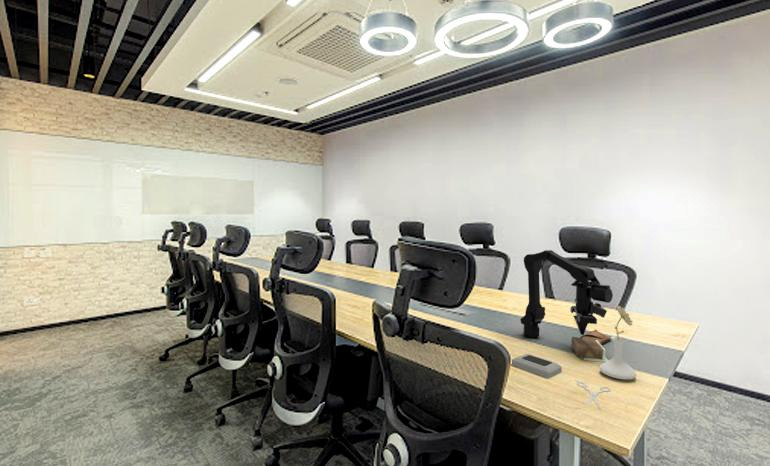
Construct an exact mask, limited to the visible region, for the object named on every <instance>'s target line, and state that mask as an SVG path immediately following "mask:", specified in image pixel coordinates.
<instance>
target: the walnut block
mask: <svg viewBox="0 0 770 466" xmlns="http://www.w3.org/2000/svg"><path fill="white" fill-rule="evenodd" d="M570 342H571V344H570V346H571V348H572V349H573V351H574V352H575V355H577V356H579V357H580V356H584V357H591V358H597V359H603V360H605V357H606V351H607V350H606V349H605V348H604V347H603V344H602V345H601V344H600V343H599V342H598V341H597V340H591V339H584V338H580V337H577V336H571V340H570Z"/></svg>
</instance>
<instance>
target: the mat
mask: <svg viewBox="0 0 770 466" xmlns="http://www.w3.org/2000/svg"><path fill="white" fill-rule="evenodd" d="M579 358H580V359H581V360H582V361H589V362H600V363H604V362H606V361H608V360H609V359H608V357H606V356H605V360H603V359H597V358H591V357H584V356H579Z"/></svg>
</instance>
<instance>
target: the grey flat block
mask: <svg viewBox="0 0 770 466" xmlns="http://www.w3.org/2000/svg"><path fill="white" fill-rule="evenodd" d="M511 360H512V364H511V363H510V366H512V367H515V368H518V369H520V370H523V371H526V372H528V373H531V374H534V375H537V376H538V377H539V376H540V377H542V378H546V379H547V378H548V379H547V380H549V379H551V378H553V377H555V376H557V375H559V374H561V373H562V369H563V367H562V366H561V365H560V364H559V363H557V362H554V361H552V360H548V359H545V358H542V357H540V356H536V355H533V354H530V353H524V354H522V355H519V356H517V357H514V358H512V359H511Z"/></svg>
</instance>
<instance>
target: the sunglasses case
mask: <svg viewBox="0 0 770 466" xmlns="http://www.w3.org/2000/svg"><path fill="white" fill-rule="evenodd" d="M579 338H584V339H591V340H597V341H598V342H599V343H600V344H601V345H602V346H603V345H604V344H606V343H608V342H610V341H611V340H612V339H611V337H609V336H607V335H605V334H603V333H601V332H600V331H598V330H597V329H594V330H592V331H590V332H588V333H586V334H585V333H584V335H581V336H580V337H579Z"/></svg>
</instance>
